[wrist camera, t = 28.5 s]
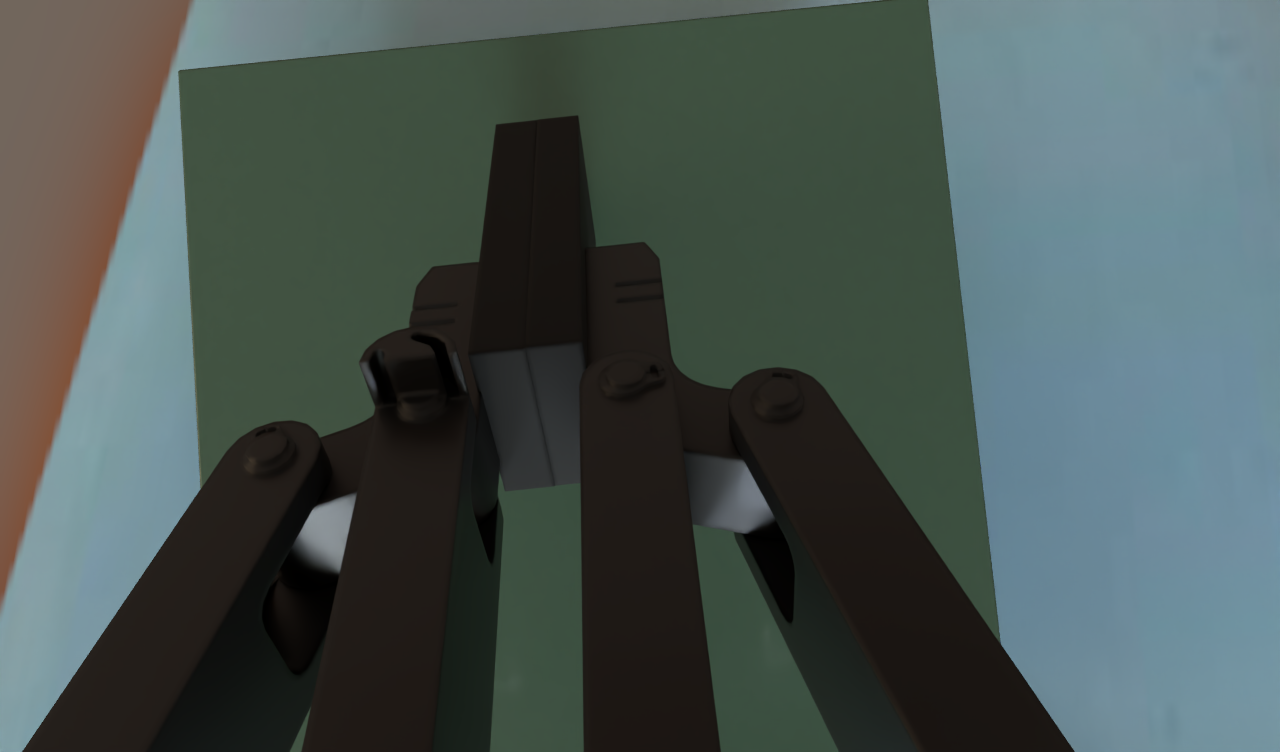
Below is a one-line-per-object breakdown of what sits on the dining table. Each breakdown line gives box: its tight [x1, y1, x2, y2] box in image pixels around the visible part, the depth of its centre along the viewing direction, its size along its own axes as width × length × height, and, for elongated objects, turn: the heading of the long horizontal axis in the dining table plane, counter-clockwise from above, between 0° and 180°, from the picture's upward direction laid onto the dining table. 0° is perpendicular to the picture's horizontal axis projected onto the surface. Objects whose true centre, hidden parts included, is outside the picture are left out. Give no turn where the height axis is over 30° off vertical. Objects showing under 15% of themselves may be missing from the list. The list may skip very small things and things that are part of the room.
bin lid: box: [178, 0, 1001, 752], centre depth 19 cm, size 17×16×1 cm
